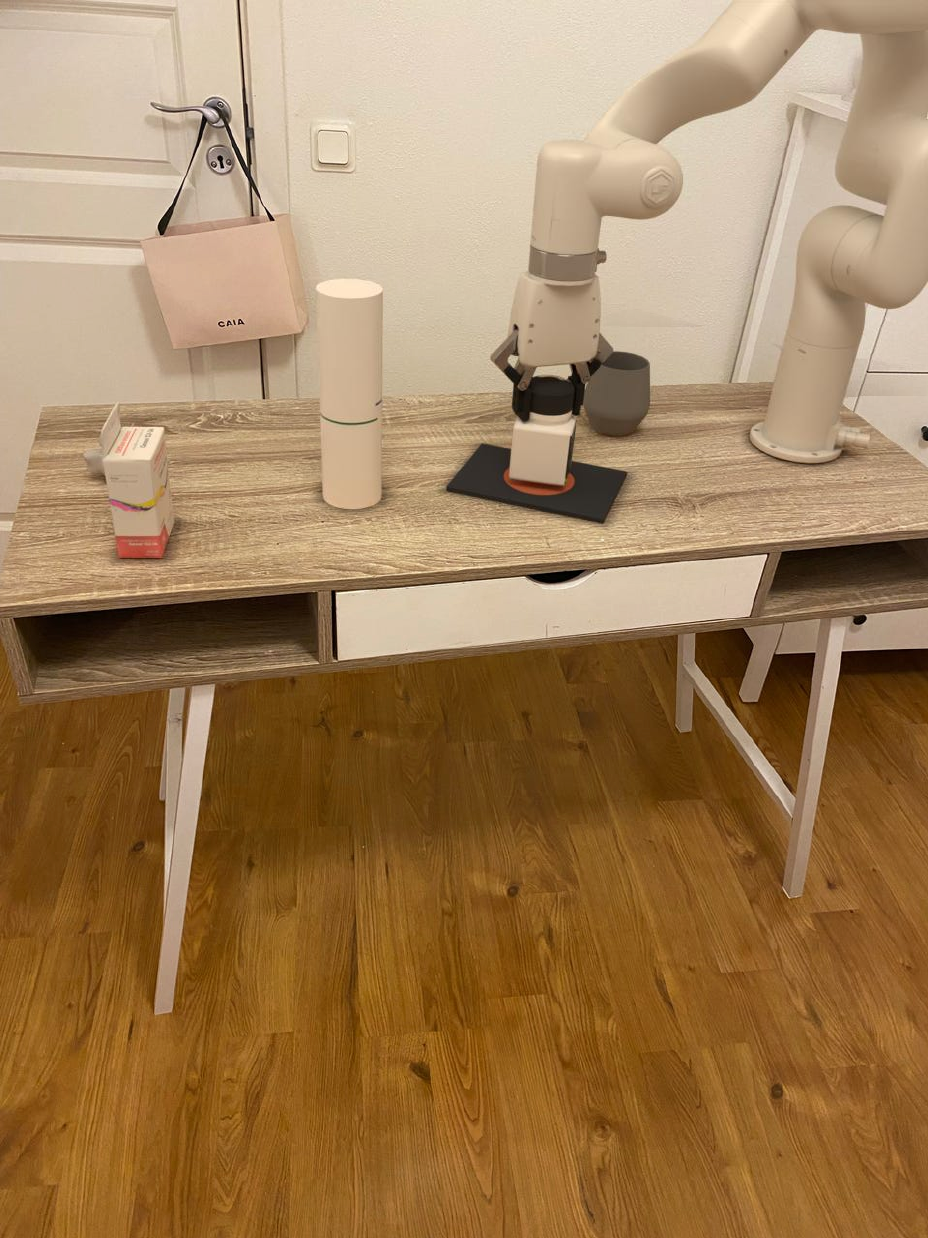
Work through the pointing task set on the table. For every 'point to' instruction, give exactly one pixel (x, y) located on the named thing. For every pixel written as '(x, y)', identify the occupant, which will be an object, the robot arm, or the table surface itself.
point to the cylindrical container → (350, 391)
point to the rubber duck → (95, 458)
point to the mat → (539, 486)
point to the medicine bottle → (545, 433)
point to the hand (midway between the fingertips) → (546, 412)
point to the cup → (618, 394)
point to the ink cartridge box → (137, 487)
